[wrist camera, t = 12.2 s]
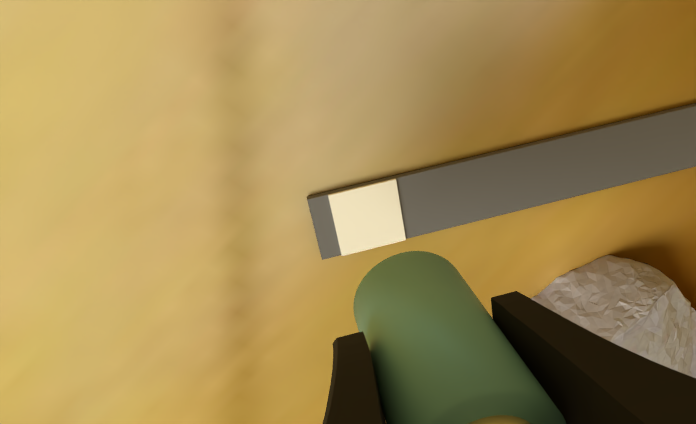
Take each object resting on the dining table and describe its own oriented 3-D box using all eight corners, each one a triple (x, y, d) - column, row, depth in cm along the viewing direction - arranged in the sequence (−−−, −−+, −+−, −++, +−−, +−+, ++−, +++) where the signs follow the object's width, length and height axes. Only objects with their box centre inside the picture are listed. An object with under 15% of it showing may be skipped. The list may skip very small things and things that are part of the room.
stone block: (594, 213, 23) (430, 360, 22) (696, 251, 18) (496, 436, 18) (667, 364, 28) (536, 488, 27) (760, 421, 24) (607, 570, 23)
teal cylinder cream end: (468, 333, 14) (581, 513, 9) (364, 360, 14) (421, 560, 9) (458, 239, 13) (582, 389, 8) (343, 267, 13) (397, 439, 8)
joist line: (841, 126, 21) (851, 128, 20) (321, 256, 19) (322, 261, 19) (854, 64, 20) (866, 66, 19) (306, 196, 18) (307, 200, 18)
